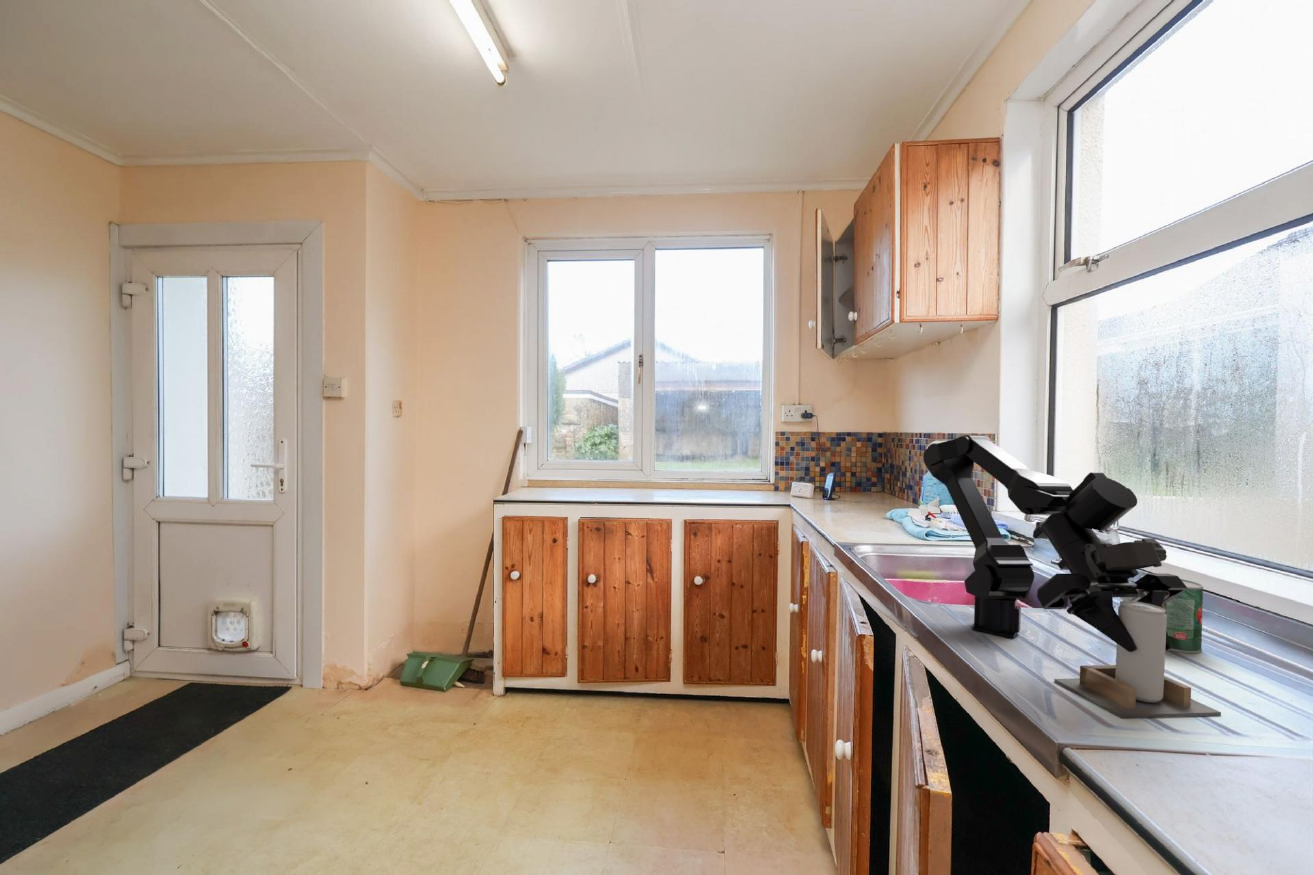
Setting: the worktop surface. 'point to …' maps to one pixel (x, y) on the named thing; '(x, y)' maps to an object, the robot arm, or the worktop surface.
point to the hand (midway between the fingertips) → (1150, 650)
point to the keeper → (1133, 695)
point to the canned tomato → (1185, 619)
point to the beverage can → (1143, 650)
